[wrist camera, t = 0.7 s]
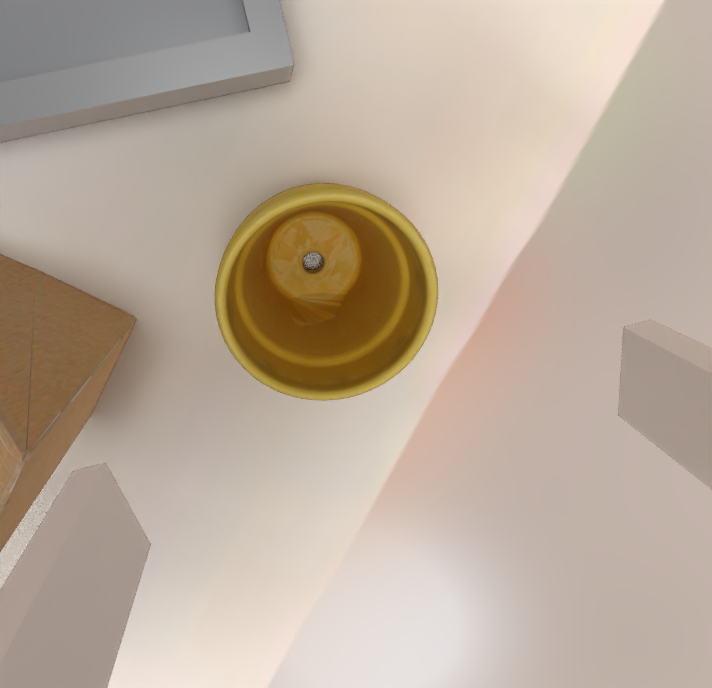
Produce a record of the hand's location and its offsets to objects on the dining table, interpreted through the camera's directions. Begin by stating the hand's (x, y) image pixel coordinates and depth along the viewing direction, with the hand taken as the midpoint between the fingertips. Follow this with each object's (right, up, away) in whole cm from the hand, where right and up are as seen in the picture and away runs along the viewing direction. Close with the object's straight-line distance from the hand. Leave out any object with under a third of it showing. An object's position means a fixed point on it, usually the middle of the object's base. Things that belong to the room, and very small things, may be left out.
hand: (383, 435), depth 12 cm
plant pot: (-3, +8, +18) cm, 20 cm away
